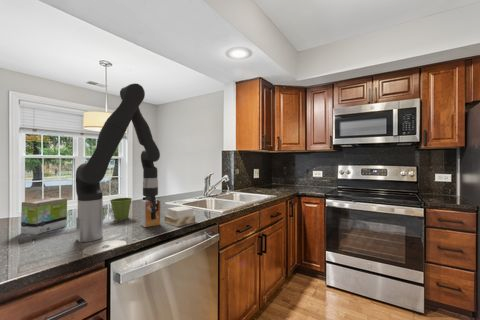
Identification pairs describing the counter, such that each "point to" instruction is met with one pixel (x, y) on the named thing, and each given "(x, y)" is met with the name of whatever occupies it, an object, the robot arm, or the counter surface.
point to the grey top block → (180, 212)
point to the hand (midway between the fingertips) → (150, 218)
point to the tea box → (43, 215)
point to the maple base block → (179, 220)
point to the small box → (149, 214)
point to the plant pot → (121, 207)
